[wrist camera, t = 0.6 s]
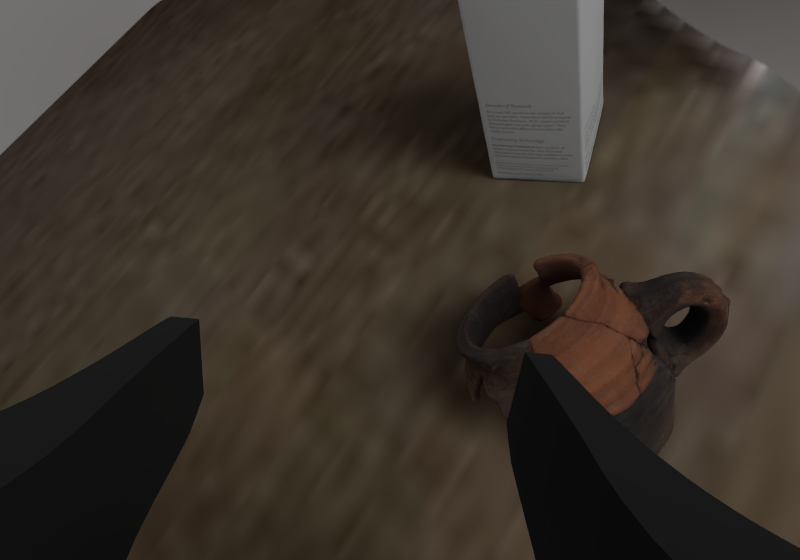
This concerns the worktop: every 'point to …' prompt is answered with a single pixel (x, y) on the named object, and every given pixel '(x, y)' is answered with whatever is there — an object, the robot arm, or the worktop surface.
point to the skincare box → (537, 83)
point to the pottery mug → (599, 338)
